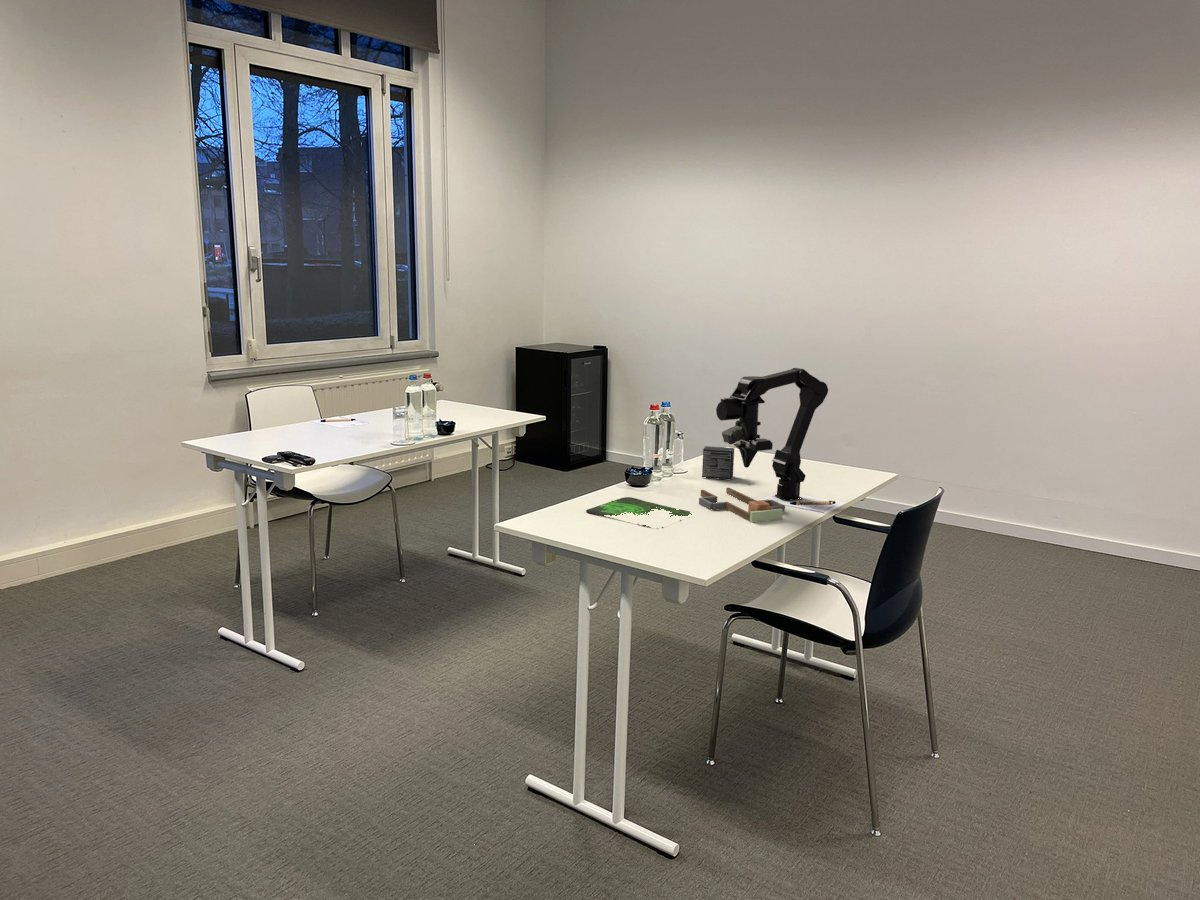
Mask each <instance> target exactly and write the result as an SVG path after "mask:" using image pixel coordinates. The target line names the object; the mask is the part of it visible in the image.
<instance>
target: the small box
mask: <svg viewBox="0 0 1200 900" xmlns="http://www.w3.org/2000/svg"><path fill="white" fill-rule="evenodd" d="M734 459H735V447H724V446H723V447H722V446H709V445H708V446H707V445H705V446H704V447H703V449H702V471H701V478H702V477H706V478H705V479H711V478H719V479H718V480H725V479H732V480H733V477H734V465H735V464H734V461H735V460H734Z"/></svg>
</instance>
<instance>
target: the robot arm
mask: <svg viewBox="0 0 1200 900" xmlns="http://www.w3.org/2000/svg"><path fill="white" fill-rule="evenodd" d="M791 384H795V386H796V387H797V388H798V389H799V395H798V397H799V403H800V405H799V408H798V411H797V413H796V416H795V418H794V421H793V423H792V426H791V428H790V429H791V430H790V432H789V434H788V437H787V440H786V443H785V445H784V447H783V448H782V449H781V450H780V449H776V450H775V453H774V457H773V458H772V460H771V461H772V464H771V467H772V470H773V472H774V474H775V477H776V478H778V483H777V486H776V487H777V488H776V493H775V495H774V496H775V497H776V496H777V497H776V498H778V497H779V499H781V498H782V499H781V500H783V499H784V500H783V501H785V500H789V501H791V500H790V499H798V498H799V499H800V498H802V499H803V497H802V496H800V495H801V494H800V493H801V483H803V482H804V481H805V479H806V477H807V476H806V474H805V473H804V471H803V470H802V469H801V468H800V467H801V464H802V463H801V462H802V458H801V450H802V447H803V444H804V441H805V439H806V436H807V434H808V430H809V427H810V426H811V423H812V419H813V417H814V414H815V412H816V410H817V409H818V408H819V407H820V406H821V405H822V404H823V402H824V401H825V399H826V397H827V396H828V394H829V388H828V384H827V383H826V382H825V381H822V380H819V379H818V378H816V377H815V376H813V375H812V374H810V373H809V371H807V370H805V369H804V368H799V367H793V368H791V369H788V370H784V371H779V372H776V373H772V374H768V375H763V376H753V375H752V376H751V375H750V376H742V377H741V378H739V381H738V383H737V385H736V386H735V388H734V389H733V391H732V393H731V394H730V396H729V397H721V398H720V402H719V403H718V404H717V407H716V410H715V412H716V417H717V419H718V420H719V421H721V422H722V421H733V420H736V421H735V425H734V426H731V427H729V428H727V429H725V430H723V431H722V432H721V435H722V436H721V437H722V440H723V442H724V443H726V444H728V445H733V446H734V447H736V448H737V449H738V451H739V452H740V453H739V454H740V455H741V459H742V462H743V463H742V464H743V467H744V468H749V467H750V465H751V463H752V462H753V460H754V458H755V457H756V455H757V453H759V452H763V451H771V450H773V444H774V443H773V441H771V440H770V439H767V438H761V435H760V434H758V429H759V426H761V421H759V404H760V405H761V404H765V402H766V401H765V400H764V399H763V398H762V395H765V394H766V393H767V392H768V391H769V390H772V389H776V388H780V387H785V386H786V385H791ZM800 500H801V499H800Z"/></svg>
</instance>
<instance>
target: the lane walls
mask: <svg viewBox="0 0 1200 900" xmlns="http://www.w3.org/2000/svg"><path fill="white" fill-rule="evenodd" d="M725 493H727V495H728V496H730V495H731V496H730V497H732V496H733V497H732V498H734V497H735V498H734V499H736V498H737V500H738V499H739V500H738V501H740V500H741V501H740V502H742V501H743V502H742V503H744V502H745V503H744V504H746V503H747V504H746V505H748V504H749V501H758V500H756V499H754V498H752V497H750V496H748V495H747V494H743V493H742V492H740V491H737V490H735V489H733V488H731V487H726V489H725ZM709 496H714V497H715V499H714V502H715V503H716V502H718V496H717V495H715V494H713V493H711V492H709V491H707V490H705V489H701V490H700V497H709ZM725 502H726V509H725V510H727V511H728V512H731V513H732V512H733V514H734V513H735V514H734V515H737V516H738V517H740V518H742V519H744V520H746V521H748V522H750V513H749V512H748V510H747V511H746V510H745V509H743V508H741V507H739V506H738V505H737V506H736V505H735V504H733V503H731V502H728V501H725ZM772 509H773V508H771V507H770V510H772Z"/></svg>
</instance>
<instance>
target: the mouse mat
mask: <svg viewBox="0 0 1200 900" xmlns="http://www.w3.org/2000/svg"><path fill="white" fill-rule="evenodd" d="M656 507H657V508H656ZM660 508H661V509H664V510H666V511H670V512H672V513H669V514H673V515H675V516H676V515H678V516H681V515H682V516H688V515H689V514H691V513H690V512H691V511H690V510H685V509H681V508H678V509H679V510H676V509H677V508H674V507H671V506H668V505H667V506H666V505H663V504H658V503H654V502H650V501H646V500H642V499H639V498H635V497H632V496H631V497H629V496H628V497H627V496H625V497H621V498H617V499H614V500H611V501H609V502H606V503H603V504H600V505H597V506H594V507H591V508H587V509H586V510H585V512H586V513H589V514H591V513H592V514H591V515H595V514H597V515H596V516H598V515H602V516H604V515H610V516H612V515H615V514H616V515H615V516H617V515H620V514H621V513H624V512H627V513H629V512H630V513H631V512H632V513H633V514H634V515H636V514H638V515H640V514H641V513H643V514H646V515H647V513H648V512H650V511H654V510H651V509H658V510H661V509H660ZM645 512H646V513H645ZM635 513H636V514H635ZM624 514H626V513H624ZM643 514H641V515H643ZM622 515H623V514H622ZM638 515H637V516H638ZM648 515H649V514H648ZM673 515H671V516H673ZM691 515H692V514H691ZM602 516H601V517H602ZM671 516H670V517H671ZM645 526H646V525H643V526H642V527H645Z"/></svg>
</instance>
